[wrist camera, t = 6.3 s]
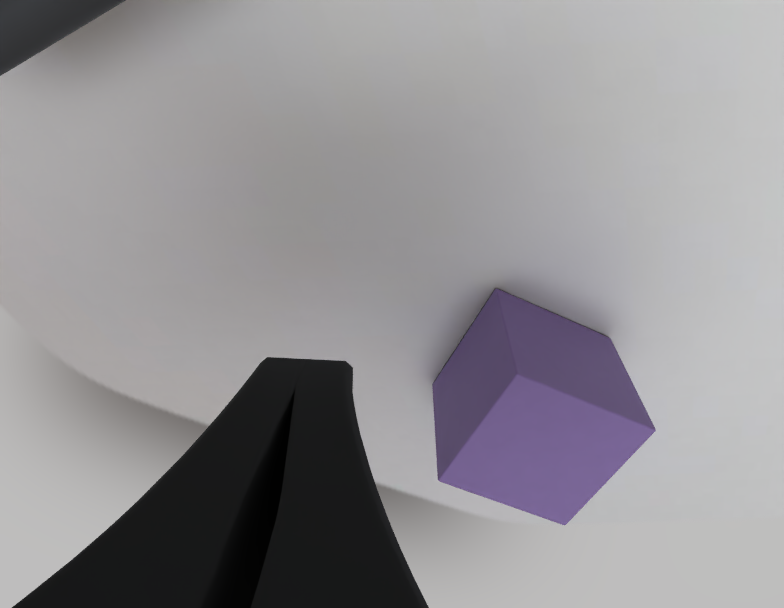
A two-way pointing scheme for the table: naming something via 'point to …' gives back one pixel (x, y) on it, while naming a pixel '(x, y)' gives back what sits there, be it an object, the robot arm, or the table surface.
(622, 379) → the block
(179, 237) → the table surface
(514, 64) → the table surface
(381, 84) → the table surface
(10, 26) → the drawer
